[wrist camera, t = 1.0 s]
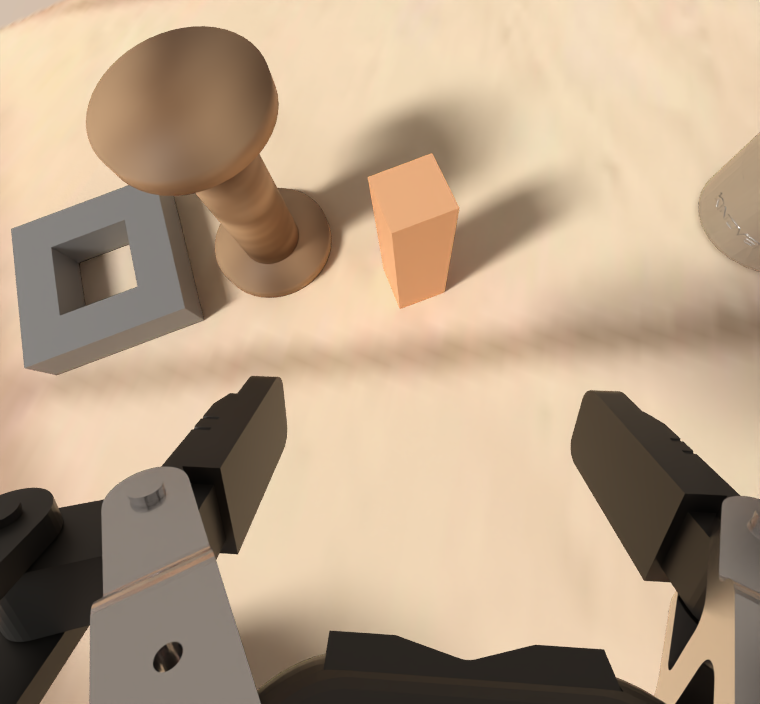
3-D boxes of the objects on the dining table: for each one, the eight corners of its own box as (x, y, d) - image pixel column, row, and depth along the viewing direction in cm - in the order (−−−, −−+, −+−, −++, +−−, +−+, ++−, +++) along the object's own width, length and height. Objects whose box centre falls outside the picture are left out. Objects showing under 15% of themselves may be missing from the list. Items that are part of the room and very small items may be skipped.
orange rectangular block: (426, 252, 29) (432, 152, 19) (444, 292, 28) (459, 207, 18) (383, 268, 29) (367, 177, 19) (400, 308, 28) (391, 233, 18)
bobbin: (312, 181, 32) (244, 2, 19) (346, 273, 29) (294, 137, 17) (210, 219, 32) (75, 65, 19) (236, 314, 29) (100, 209, 17)
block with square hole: (173, 196, 32) (154, 175, 30) (203, 320, 29) (184, 308, 27) (41, 245, 32) (11, 228, 30) (56, 375, 29) (24, 368, 27)
